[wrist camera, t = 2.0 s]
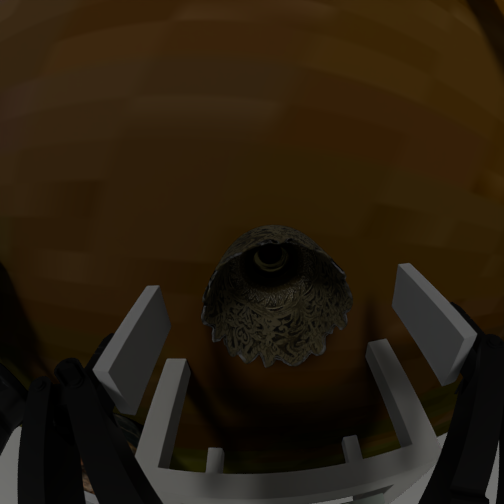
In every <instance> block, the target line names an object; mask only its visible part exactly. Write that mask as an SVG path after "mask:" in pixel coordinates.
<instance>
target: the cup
mask: <svg viewBox="0 0 504 504" xmlns="http://www.w3.org/2000/svg"><path fill="white" fill-rule="evenodd" d="M267 245H277V246H279V247H280V249H281V257H280V259H279V260H278V261H277V262H275V263H272V264H269V263H265V262H263V261H262V260H261V258H260V256H259V251H260V249H261V248H262V247H264V246H267ZM345 278H346V274H345V272H344V271H343V270H342V269H341V268H340V267H339V266H338V265H337V264H336V263H335V262H334V261H333V259H332V258H331V257H330V256H329V255H328V254H327V253H326V252H325V251H324V250H323V249H322V248H321V247H319V246H318V245H317V244H316V243H315V242H314V241H313V240H312V239H310V238H309V237H308V236H306V235H305V234H303V233H301V232H300V231H298V230H295V229H293V228H290V227H286V226H280V225H267V226H261V227H258V228H255V229H253V230H250V231H248V232H247V233H245V234H243V235H242V236H240V237H239V238H238V239H237V240H236V241H235V242H234V243H233V244H232V245H231V246H230V247H229V249H228V250H227V251H226V253H225V254H224V256H223V257H222V259H221V260H220V262H219V264H218V266H217V267H216V269H215V271H214V273H213V275H212V276H211V278H210V281H209V284H208V286H207V288H206V290H205V292H204V295H203V298H202V302H204V305H203V310H202V314H201V320H202V322H203V324H205V325H208V326H210V327H212V341H213V342H217V341H221V339H222V337H224V345H225V346H226V347H227V350H228V353H229V355H230V356H232V357H235V356H236V355H238V353H239V356H240V358H241V359H242V360H243V362H244V363H246V364H248V363H250V362H252V361H253V360H254V359H256V357H257V355H258V354H259V355H260V356H261V358H262V360H263V363H264V366H265V367H270V366H271V365H272V364H274V362H275V361H276V360H275V359H277V360H282V361H283V362H284V363H285V364H287V365H290V366H298V365H299V364H301V363H302V362H303V361H304V360H305V359H306V358H307V357H308V356H309V355H310V354H311V353H313V354H314V355H316V356H318V355H322V354H323V353H324V351H325V350H326V342H325V337H326V336H327V335H328V334H332V333H333V329H334V327H335V326H338V328H340V329H339V330H342V329H344V328H345V327H346V326H347V315H346V313H347V312H348V311H350V309H351V307H352V304H353V298H352V294H351V291H350V289H349V286H348V285H347V283H346V281H345ZM274 360H275V361H274Z"/></svg>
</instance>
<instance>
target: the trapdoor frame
mask: <svg viewBox="0 0 504 504" xmlns="http://www.w3.org/2000/svg"><path fill="white" fill-rule="evenodd" d="M365 357H366V360H367V362H368V364H369V367H370V369H371V371H372V374H373V376H374V378H375V381H376V383H377V386H378V388H379V390H380V393H381V395H382V398H383V400H384V403H385V405H386V408H387V410H388V413H389V415H390V418H391V421H392V423H393V426H394V429H395V431H396V434H397V437H398V439H399V442H400V445H401V448H400V449H397V450H394V451H391V452H388V453H384V454H381V455H377V456H374V457H370V458H366V459H363V458H362V454H361V450H360V446H359V443H358V439H357V435H353V436H348V437H343V440H342V448H343V452H344V457H345V461H346V463H345V464H340V465H334V466H329V467H323V468H317V469H310V470H302V471H293V472H282V473H267V474H223V466H224V454H225V453H224V451H223V449H222V448H209V449H208V457H207V465H206V473H199V472H188V471H179V470H171V469H169V466H170V461H171V457H172V452H173V447H174V443H175V438H176V434H177V429H178V425H179V421H180V416H181V412H182V408H183V403H184V399H185V395H186V391H187V387H188V382H189V378H190V374H191V371H190V369H189V366H188V363H187V360H186V359H167V360H166V363H165V366H164V369H163V371H162V374H161V377H160V380H159V383H158V386H157V389H156V392H155V395H154V398H153V401H152V404H151V407H150V410H149V413H148V416H147V419H146V422H145V425H144V428H143V431H142V434H141V438H140V441H139V444H138V447H137V451H136V454H135V458H136V460H137V461H138V463H139V465H140V467H141V469H142V470H143V472H144V474H145V476H146V477H147V479H148V481H149V482H150V484H151V485H152V487H153V489H154V490H155V492H156V493H157V495H158V496H159V498H160V499H161V501H162V502H163V504H312V503H318V502H324V501H330V500H336V499H341V498H345V497H350V496H353V501H355V500H359V499H363V498H367V497H370V496H374V495H377V494H381V493H383V496H384V500H385V503H384V504H389V503H391V502H392V501H393V500H395V499H396V498H397V497H399V496H400V495H401V494H402V493H404V492H405V491H406V490H407V489H408V488H410V487H411V486H412V485H413V484H414V483H416V482H417V481H418V480H419V479H420V478H421V477H422V476H423V475H424V474H425V473H427V472H428V471H429V470H430V469H431V468H432V467H433V466H434V465H435V464H436V463H437V461H438V459H439V456H440V454H441V451H442V449H441V447H440V444H439V442H438V440H437V437H436V435H435V433H434V431H433V428H432V426H431V424H430V422H429V420H428V418H427V416H426V413H425V411H424V409H423V407H422V405H421V403H420V401H419V399H418V397H417V395H416V393H415V391H414V389H413V387H412V385H411V383H410V381H409V379H408V377H407V376H406V374H405V372H404V370H403V368H402V366H401V364H400V362H399V361H398V359H397V357H396V355H395V353H394V352H393V350H392V348H391V346H390V344H389V343H388V341H387V339H382V340H377V341H372V342H368V345H367V350H366V355H365Z"/></svg>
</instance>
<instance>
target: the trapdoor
mask: <svg viewBox="0 0 504 504" xmlns="http://www.w3.org/2000/svg"><path fill="white" fill-rule="evenodd" d="M384 503H385V500H384V496H383V493H381V494H377V495H374V496H370V497H367V498H363V499H359V500H355V501H351V502H346V503H342V504H384Z"/></svg>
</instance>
